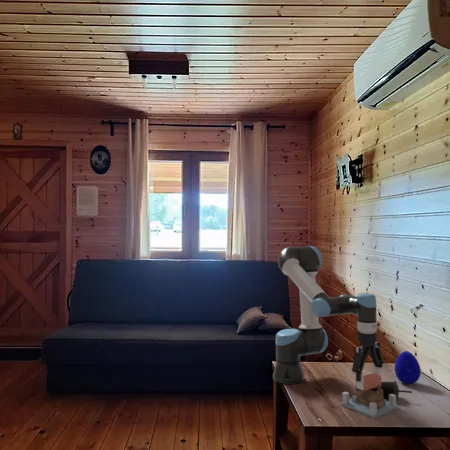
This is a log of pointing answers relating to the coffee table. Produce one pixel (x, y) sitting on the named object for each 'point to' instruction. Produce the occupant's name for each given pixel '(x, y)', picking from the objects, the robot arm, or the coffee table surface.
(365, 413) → the jig
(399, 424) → the coffee table surface
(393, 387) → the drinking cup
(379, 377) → the red rectangular block
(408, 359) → the ornament
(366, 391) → the brown blocky piece
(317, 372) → the coffee table surface
